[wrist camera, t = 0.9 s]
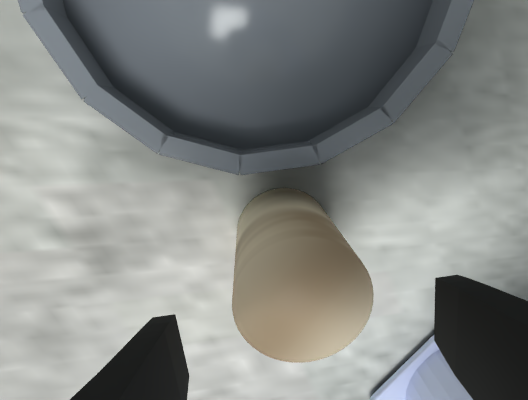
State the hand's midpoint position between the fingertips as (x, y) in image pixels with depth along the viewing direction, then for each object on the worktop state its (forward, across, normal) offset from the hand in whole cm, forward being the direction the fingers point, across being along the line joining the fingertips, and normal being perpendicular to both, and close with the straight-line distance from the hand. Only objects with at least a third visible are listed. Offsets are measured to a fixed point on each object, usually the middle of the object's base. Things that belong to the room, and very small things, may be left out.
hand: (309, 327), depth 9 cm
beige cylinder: (+7, 0, 0) cm, 7 cm away
